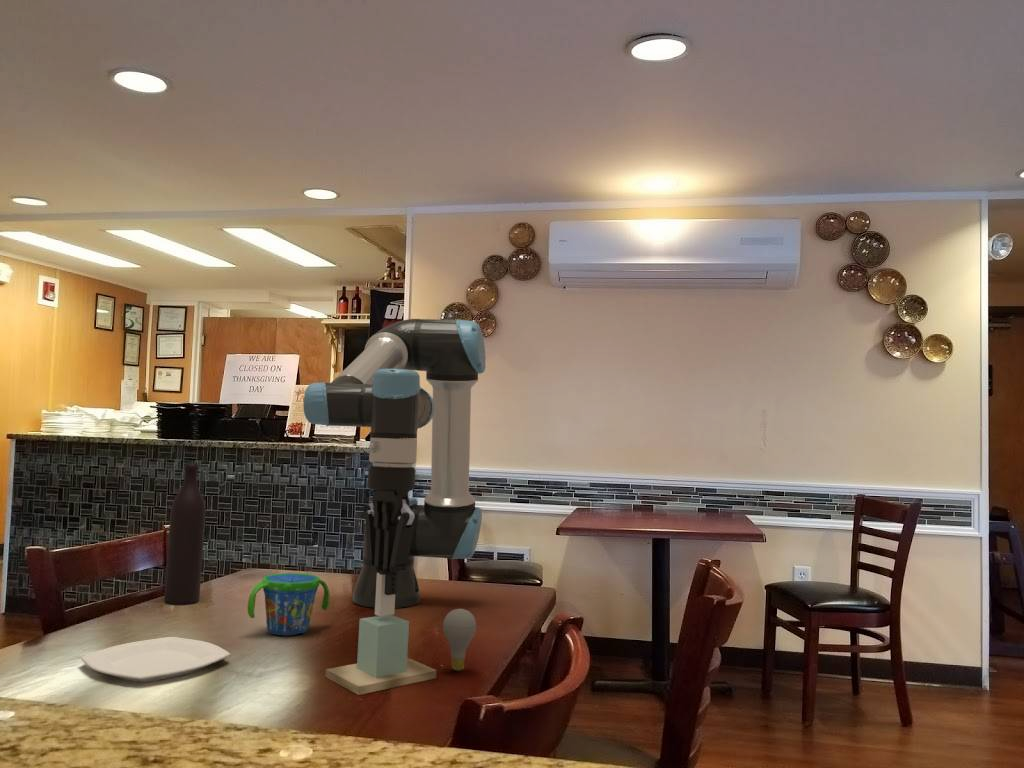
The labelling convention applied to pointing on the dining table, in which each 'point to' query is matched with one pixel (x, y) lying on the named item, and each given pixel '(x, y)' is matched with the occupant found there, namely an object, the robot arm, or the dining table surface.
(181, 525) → the wine bottle
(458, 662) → the light bulb
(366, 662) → the grey-green block
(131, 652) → the plate
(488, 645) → the dining table surface
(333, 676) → the stand
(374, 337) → the robot arm
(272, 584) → the snack cup
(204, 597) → the dining table surface
